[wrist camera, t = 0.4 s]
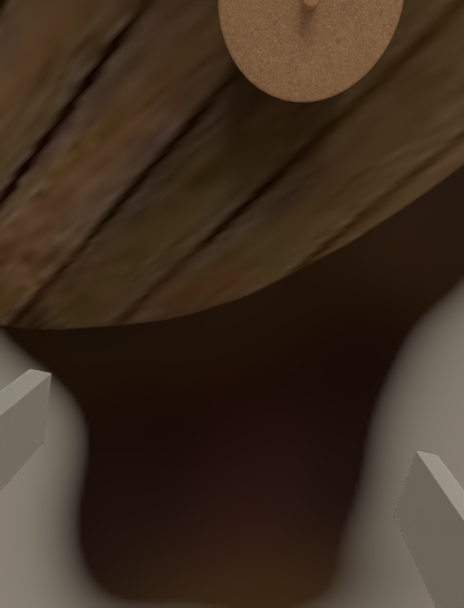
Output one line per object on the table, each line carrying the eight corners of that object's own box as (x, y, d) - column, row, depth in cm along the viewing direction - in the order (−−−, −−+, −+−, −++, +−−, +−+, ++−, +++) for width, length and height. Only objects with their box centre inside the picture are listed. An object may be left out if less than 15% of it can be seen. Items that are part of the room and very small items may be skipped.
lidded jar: (273, 123, 34) (273, 139, 26) (201, -13, 30) (175, -43, 22) (399, 42, 31) (445, 32, 23) (337, -123, 27) (365, -207, 19)
